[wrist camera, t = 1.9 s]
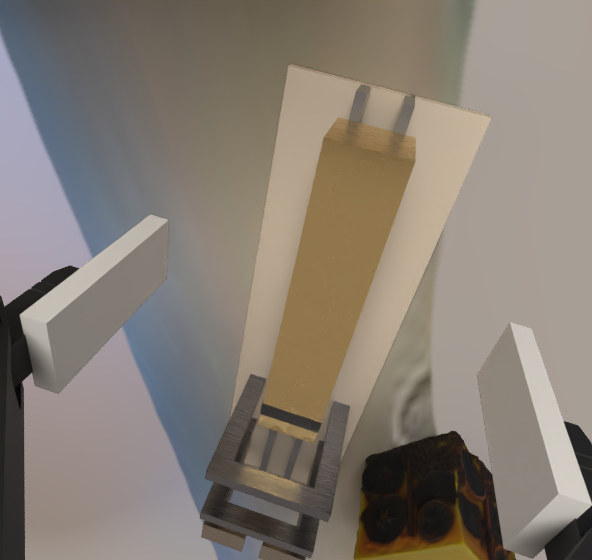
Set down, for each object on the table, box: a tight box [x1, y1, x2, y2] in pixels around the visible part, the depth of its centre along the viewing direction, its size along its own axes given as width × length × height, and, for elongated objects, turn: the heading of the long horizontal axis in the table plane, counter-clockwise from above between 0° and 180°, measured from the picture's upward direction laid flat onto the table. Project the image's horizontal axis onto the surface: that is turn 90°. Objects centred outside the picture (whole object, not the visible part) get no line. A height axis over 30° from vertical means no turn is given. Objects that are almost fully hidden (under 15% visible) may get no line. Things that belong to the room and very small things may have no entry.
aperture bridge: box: [202, 439, 314, 560], centre depth 42 cm, size 2×9×10 cm, turn 78°
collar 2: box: [200, 418, 324, 558], centre depth 40 cm, size 1×10×11 cm, turn 78°
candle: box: [354, 431, 516, 560], centre depth 39 cm, size 10×10×10 cm
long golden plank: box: [258, 117, 416, 444], centre depth 28 cm, size 22×4×4 cm, turn 169°
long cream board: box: [230, 64, 492, 484], centre depth 36 cm, size 40×12×3 cm, turn 169°
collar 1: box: [205, 374, 350, 522], centre depth 36 cm, size 1×10×11 cm, turn 78°
